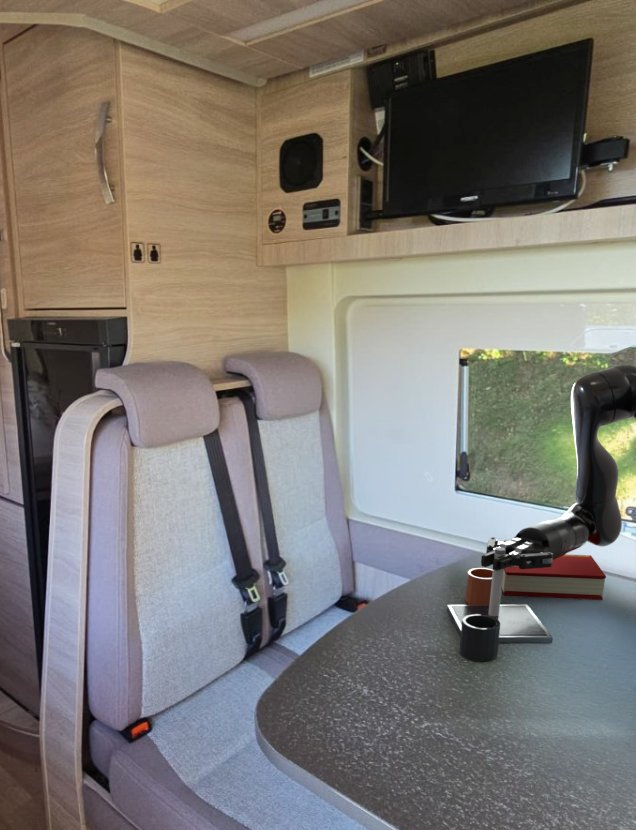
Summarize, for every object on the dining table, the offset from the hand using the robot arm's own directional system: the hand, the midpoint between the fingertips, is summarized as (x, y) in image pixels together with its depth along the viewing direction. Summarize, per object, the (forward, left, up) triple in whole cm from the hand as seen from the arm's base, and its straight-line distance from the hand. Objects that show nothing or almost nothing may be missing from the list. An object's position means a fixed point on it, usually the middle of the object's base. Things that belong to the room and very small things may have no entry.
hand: (489, 563), depth 129 cm
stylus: (-2, -2, -11) cm, 11 cm away
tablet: (-2, 0, -12) cm, 12 cm away
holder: (+4, +11, -12) cm, 17 cm away
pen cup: (-2, -11, -12) cm, 16 cm away
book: (-17, -19, -12) cm, 28 cm away
